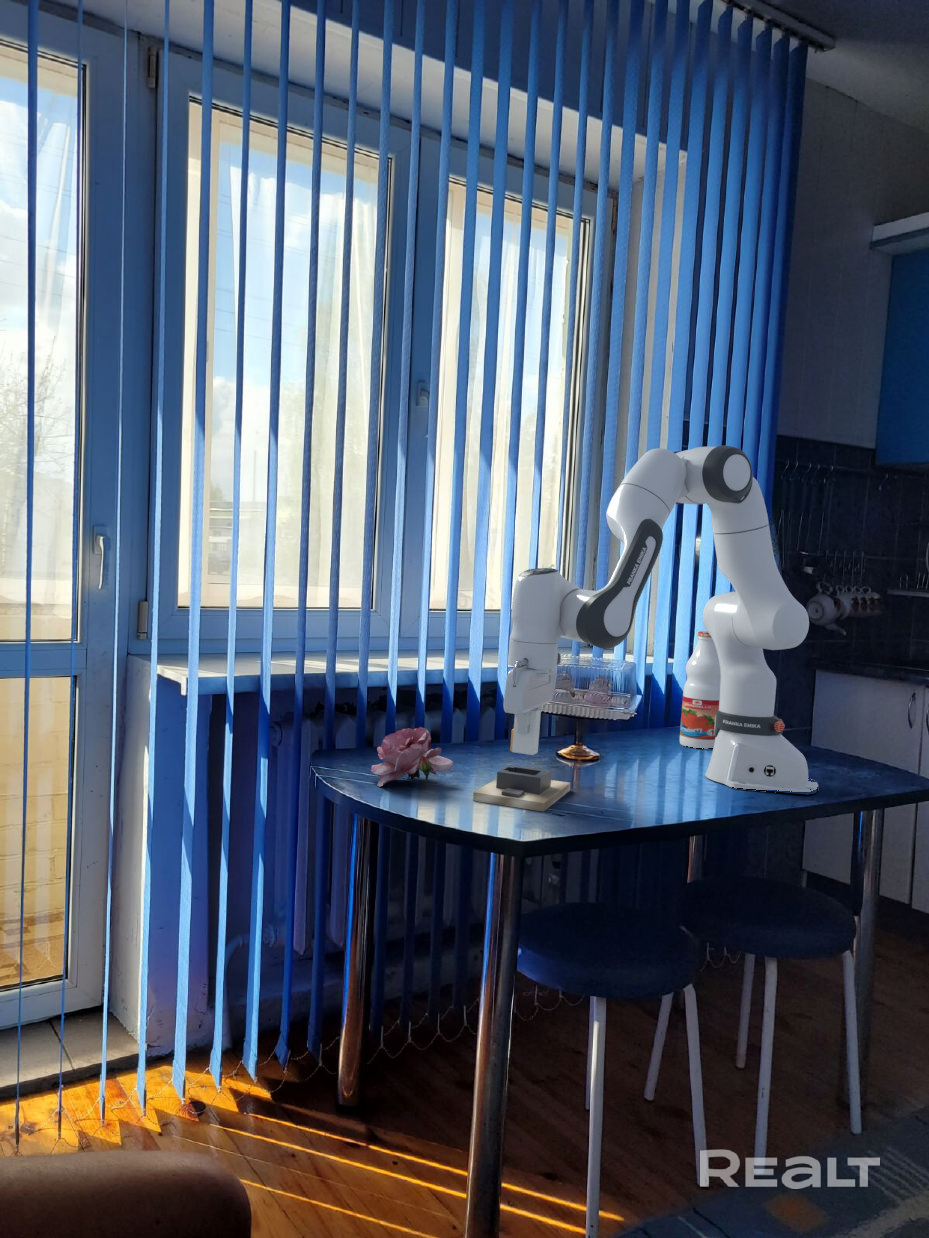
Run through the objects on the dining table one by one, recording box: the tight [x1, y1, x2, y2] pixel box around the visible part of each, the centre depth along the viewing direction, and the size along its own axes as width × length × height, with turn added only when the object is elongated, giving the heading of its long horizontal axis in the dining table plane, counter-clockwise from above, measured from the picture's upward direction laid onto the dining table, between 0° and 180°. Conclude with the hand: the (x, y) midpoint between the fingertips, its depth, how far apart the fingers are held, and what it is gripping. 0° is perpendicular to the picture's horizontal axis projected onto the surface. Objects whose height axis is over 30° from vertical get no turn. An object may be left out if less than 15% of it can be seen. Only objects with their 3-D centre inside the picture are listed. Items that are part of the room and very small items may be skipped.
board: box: [472, 778, 571, 812], centre depth 184 cm, size 13×18×2 cm
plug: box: [509, 708, 542, 756], centre depth 183 cm, size 5×3×8 cm, turn 69°
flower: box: [370, 726, 454, 788], centre depth 187 cm, size 15×15×10 cm
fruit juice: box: [679, 630, 721, 750], centre depth 245 cm, size 9×9×28 cm
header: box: [496, 764, 552, 795], centre depth 184 cm, size 8×7×3 cm
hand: (526, 732), depth 183 cm, fingers closed on plug, 3 cm apart
